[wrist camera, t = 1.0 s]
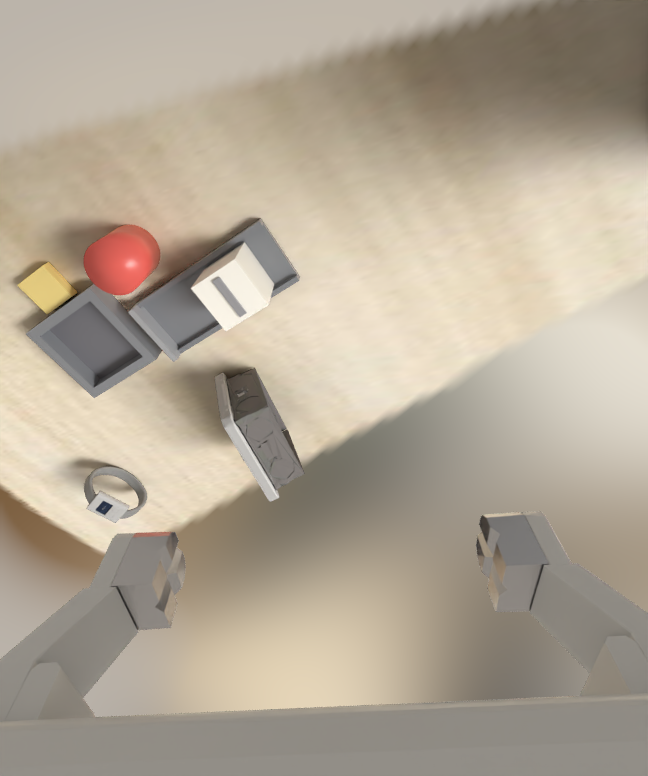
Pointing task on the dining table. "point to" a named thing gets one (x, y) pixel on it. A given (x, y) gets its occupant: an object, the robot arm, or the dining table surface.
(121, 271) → the cap
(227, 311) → the white slotted block
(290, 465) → the electrical switch
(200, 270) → the rail
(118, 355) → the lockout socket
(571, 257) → the dining table surface
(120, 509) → the wristwatch
